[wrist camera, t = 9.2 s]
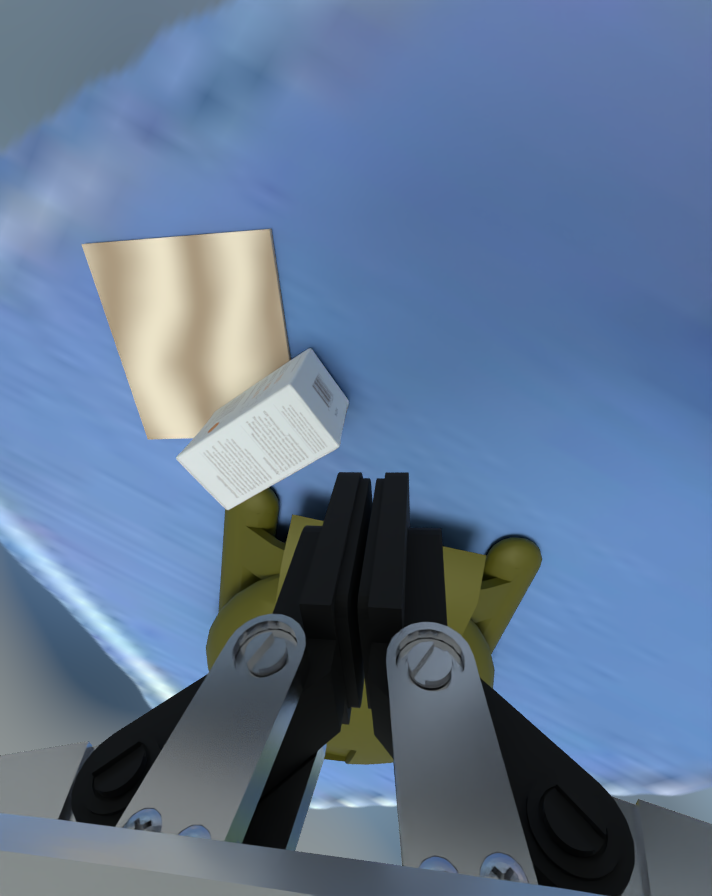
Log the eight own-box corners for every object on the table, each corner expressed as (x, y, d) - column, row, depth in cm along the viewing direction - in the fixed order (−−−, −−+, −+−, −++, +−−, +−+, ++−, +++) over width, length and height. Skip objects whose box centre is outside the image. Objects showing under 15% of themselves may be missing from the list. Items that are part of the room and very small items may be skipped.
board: (271, 228, 31) (269, 229, 30) (301, 432, 39) (300, 435, 38) (85, 243, 32) (81, 244, 32) (150, 436, 40) (147, 439, 40)
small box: (351, 400, 36) (256, 458, 40) (310, 344, 34) (214, 410, 38) (340, 450, 29) (226, 514, 33) (288, 383, 27) (172, 459, 31)
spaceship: (231, 468, 42) (189, 537, 33) (546, 536, 42) (584, 620, 34) (216, 685, 59) (186, 767, 50) (441, 730, 60) (448, 818, 51)
